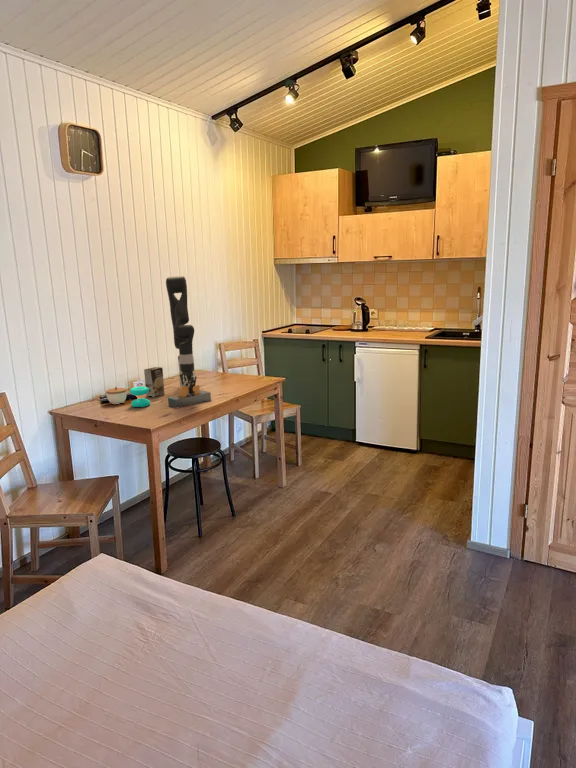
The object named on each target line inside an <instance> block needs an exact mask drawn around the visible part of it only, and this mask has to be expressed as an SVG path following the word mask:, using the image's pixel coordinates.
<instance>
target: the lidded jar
mask: <svg viewBox="0 0 576 768" xmlns="http://www.w3.org/2000/svg"><path fill="white" fill-rule="evenodd" d="M105 393H106V398H107V401H109V403H110V404H111V405H112V404H119V403H123V404H124V402H126V399H127V388H125V387H117V386H115V387H114V388H108V389H107V390H106V391H105ZM119 405H120V404H119Z"/></svg>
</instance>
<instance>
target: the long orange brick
mask: <svg viewBox="0 0 576 768" xmlns="http://www.w3.org/2000/svg"><path fill="white" fill-rule="evenodd" d="M199 391H200V385H199V384H198V383H196V384H195V386H194V387H193V395H197V394H200V392H199ZM177 392H178V395H179V397H181V398H183V397H187V393H188V392H189V386H183V387H180V386H179V387H177Z"/></svg>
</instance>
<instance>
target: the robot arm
mask: <svg viewBox="0 0 576 768" xmlns="http://www.w3.org/2000/svg"><path fill="white" fill-rule="evenodd" d="M165 285H166V286H165V287H166V291H167V297H168V301H169V308H170V310H169V311H170V317H171V325H172V330H173V343H174V347H175V349H177V350H178V353H179V354H178V356H177V363H178V378H179V380H178V381H179V387H183V386H189V392H188V393H189V394H193V387H194V386H195V384H197V383H196V382H197V376H195V359H194V355H193V354H194V352H193V351H194V350H193V340H194V335H195V327H194V326H193V325H192V324H188V323H189V321H190V317H189V316H190V315H189V309H188V286H187V278H185V276H183V275H177V276H169V277H167V278H166V279H165ZM175 294H181V295H180V297H179V299H178V298H177V297H176V295H175Z"/></svg>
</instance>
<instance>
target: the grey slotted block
mask: <svg viewBox="0 0 576 768" xmlns="http://www.w3.org/2000/svg"><path fill="white" fill-rule="evenodd" d="M199 392H200V394H197V395H193V394H189V393H187V397H183V398H181V397H179V394H178V395H174V396H170V397H169V396H168V397H167V403H168V405H169V406H168V407H171V406H172V407H171V408H174V407H175V409H178V408H177V407H179V408H182V407H181V406H183V407H186V405H188V406H191V405H190V404H192V405H197V404H201V403H205V401H206V402H209V400H210V401H212V397H211V395H212V394H211V393H212V392H210V391H207V390H203V389H202V390H199ZM200 402H201V403H200ZM196 403H197V404H196Z"/></svg>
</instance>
